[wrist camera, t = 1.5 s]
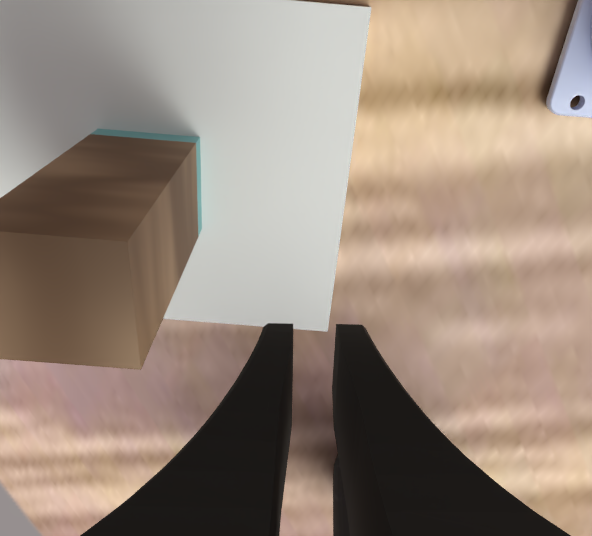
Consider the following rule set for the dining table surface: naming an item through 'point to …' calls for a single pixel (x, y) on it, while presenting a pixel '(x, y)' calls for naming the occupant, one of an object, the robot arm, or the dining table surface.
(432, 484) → the robot arm
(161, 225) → the walnut block
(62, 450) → the dining table surface
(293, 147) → the grey mat
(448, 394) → the dining table surface
